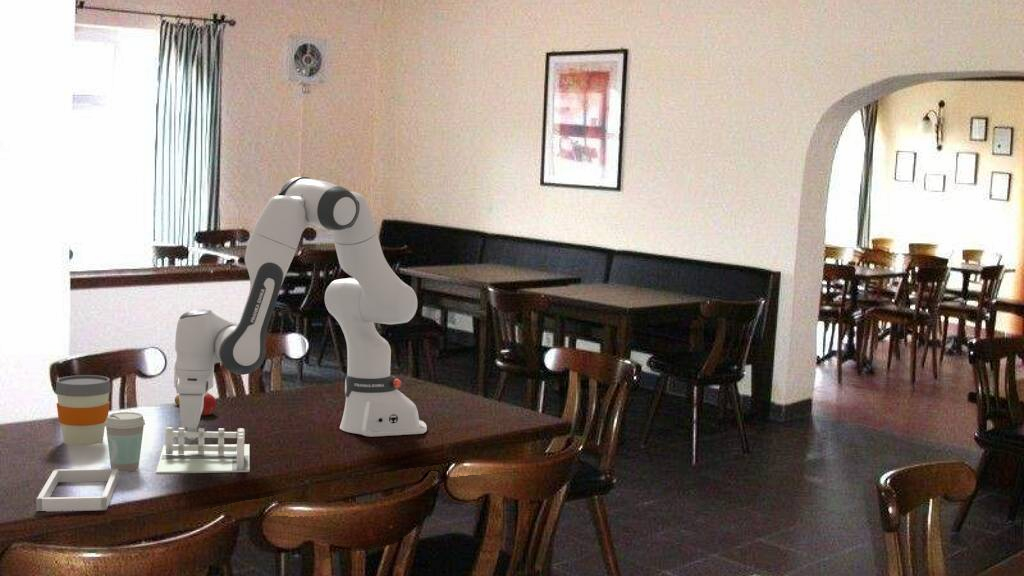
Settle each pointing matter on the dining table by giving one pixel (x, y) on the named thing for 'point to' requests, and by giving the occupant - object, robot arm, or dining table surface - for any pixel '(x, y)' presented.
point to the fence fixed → (240, 449)
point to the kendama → (205, 404)
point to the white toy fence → (199, 441)
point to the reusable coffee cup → (83, 408)
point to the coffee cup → (124, 440)
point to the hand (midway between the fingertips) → (191, 438)
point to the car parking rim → (77, 503)
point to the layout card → (201, 462)
